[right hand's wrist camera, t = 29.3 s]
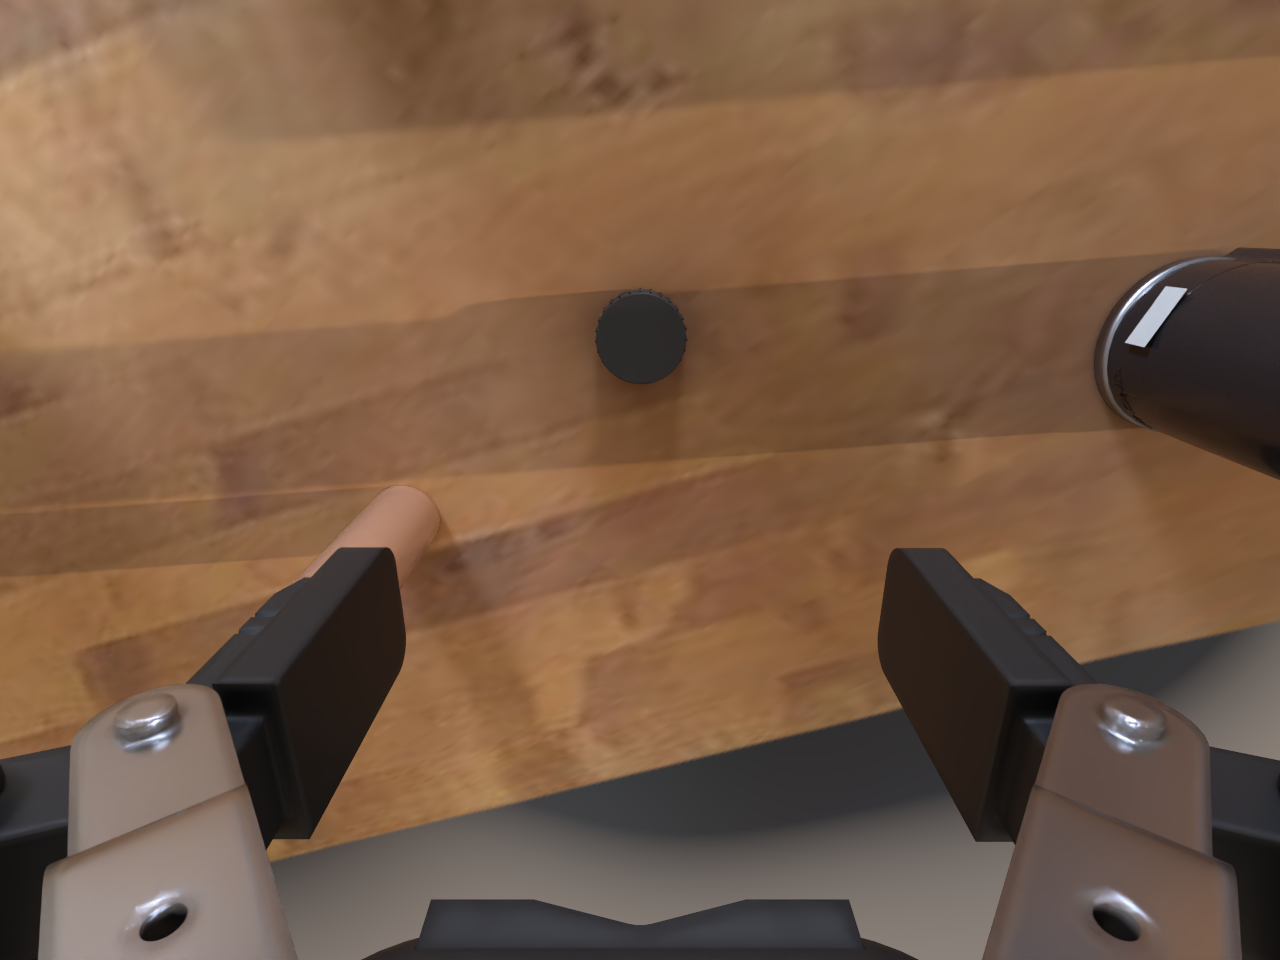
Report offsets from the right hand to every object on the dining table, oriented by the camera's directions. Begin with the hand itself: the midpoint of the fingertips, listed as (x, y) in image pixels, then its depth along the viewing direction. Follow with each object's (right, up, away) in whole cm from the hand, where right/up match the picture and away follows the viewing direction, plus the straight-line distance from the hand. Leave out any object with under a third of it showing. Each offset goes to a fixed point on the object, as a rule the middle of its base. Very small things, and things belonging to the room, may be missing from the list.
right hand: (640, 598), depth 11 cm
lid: (0, +9, +25) cm, 27 cm away
